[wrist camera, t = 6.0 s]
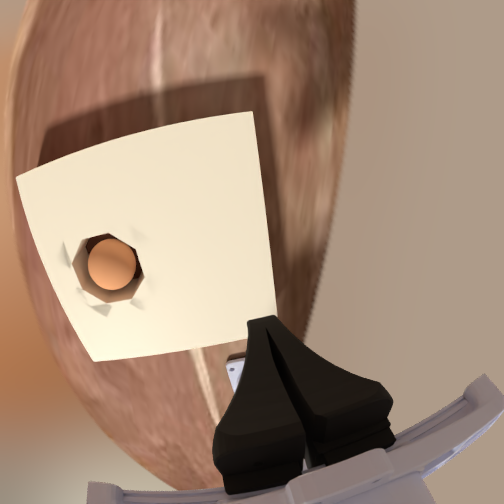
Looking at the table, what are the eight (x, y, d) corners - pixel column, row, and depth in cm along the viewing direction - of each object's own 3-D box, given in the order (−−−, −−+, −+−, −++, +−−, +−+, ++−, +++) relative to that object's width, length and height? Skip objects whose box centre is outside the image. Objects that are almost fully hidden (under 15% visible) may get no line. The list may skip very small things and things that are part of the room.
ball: (84, 274, 19) (127, 279, 21) (86, 296, 16) (136, 300, 18) (91, 229, 18) (135, 236, 20) (92, 244, 15) (145, 252, 18)
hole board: (269, 309, 24) (278, 331, 22) (100, 339, 23) (93, 361, 20) (244, 114, 18) (252, 111, 15) (36, 169, 16) (15, 177, 13)
